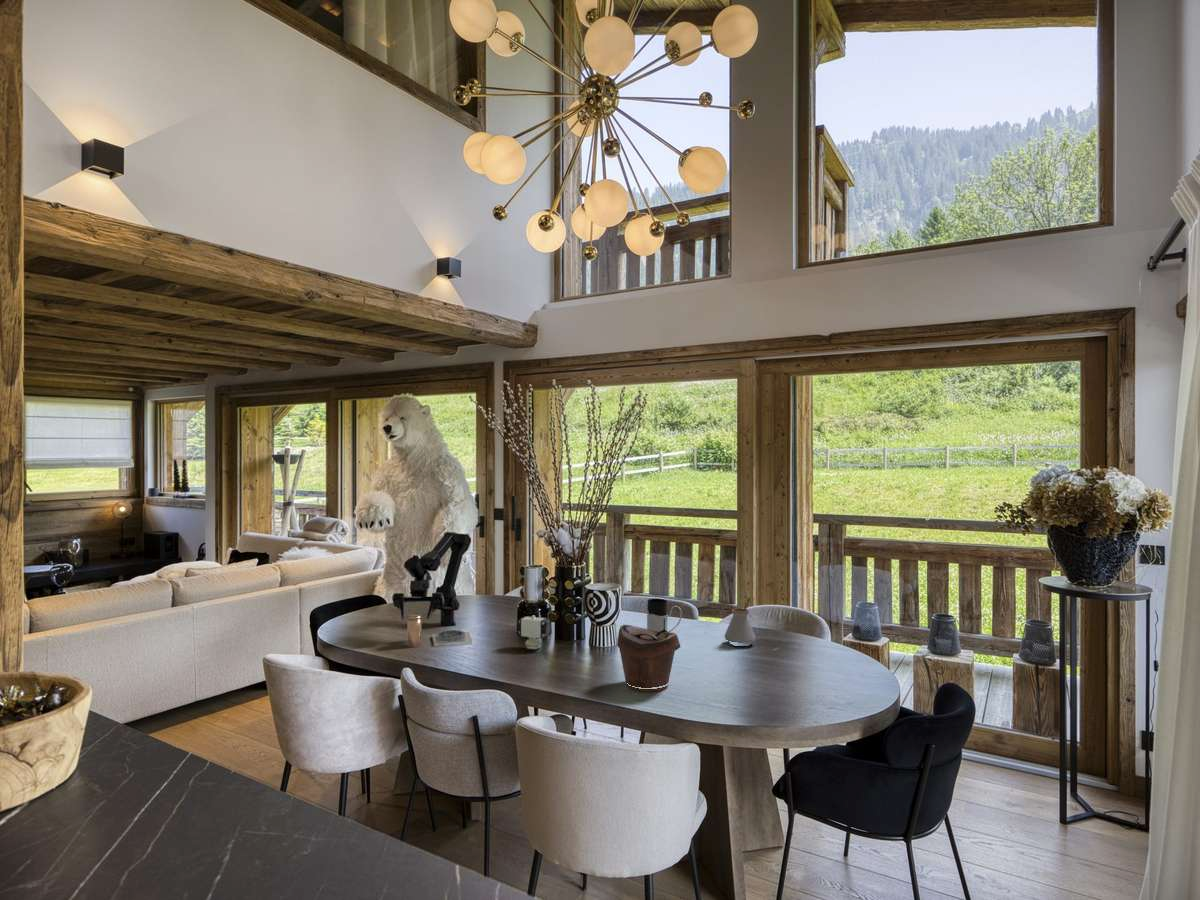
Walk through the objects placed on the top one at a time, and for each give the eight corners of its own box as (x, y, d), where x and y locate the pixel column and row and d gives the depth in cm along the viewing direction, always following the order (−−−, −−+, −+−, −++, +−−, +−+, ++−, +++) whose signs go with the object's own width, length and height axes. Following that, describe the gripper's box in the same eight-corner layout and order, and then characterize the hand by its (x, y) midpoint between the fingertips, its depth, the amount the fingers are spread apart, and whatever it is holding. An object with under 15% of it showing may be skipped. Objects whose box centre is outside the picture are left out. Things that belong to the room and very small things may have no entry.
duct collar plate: (432, 636, 268) (432, 630, 268) (468, 634, 271) (468, 628, 271) (434, 646, 254) (434, 639, 254) (472, 643, 258) (472, 636, 258)
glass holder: (650, 635, 271) (650, 597, 271) (685, 640, 265) (685, 601, 265) (642, 641, 263) (642, 601, 263) (677, 645, 257) (677, 605, 257)
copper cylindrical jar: (406, 644, 257) (407, 614, 257) (421, 643, 258) (421, 614, 258) (407, 648, 252) (407, 618, 252) (421, 647, 253) (422, 617, 253)
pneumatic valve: (545, 651, 248) (545, 618, 248) (516, 648, 252) (516, 615, 252) (551, 647, 253) (551, 614, 253) (522, 644, 257) (522, 612, 257)
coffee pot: (751, 650, 251) (751, 609, 251) (720, 646, 256) (720, 605, 256) (764, 636, 270) (764, 598, 271) (735, 633, 275) (735, 595, 276)
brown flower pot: (690, 691, 206) (689, 631, 206) (627, 698, 200) (626, 636, 201) (667, 674, 223) (667, 619, 224) (608, 680, 217) (608, 623, 218)
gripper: (393, 571, 262) (386, 607, 251) (443, 571, 263) (438, 606, 252) (397, 588, 270) (391, 623, 259) (446, 588, 271) (441, 623, 260)
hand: (415, 618), depth 257 cm, fingers open, 9 cm apart
